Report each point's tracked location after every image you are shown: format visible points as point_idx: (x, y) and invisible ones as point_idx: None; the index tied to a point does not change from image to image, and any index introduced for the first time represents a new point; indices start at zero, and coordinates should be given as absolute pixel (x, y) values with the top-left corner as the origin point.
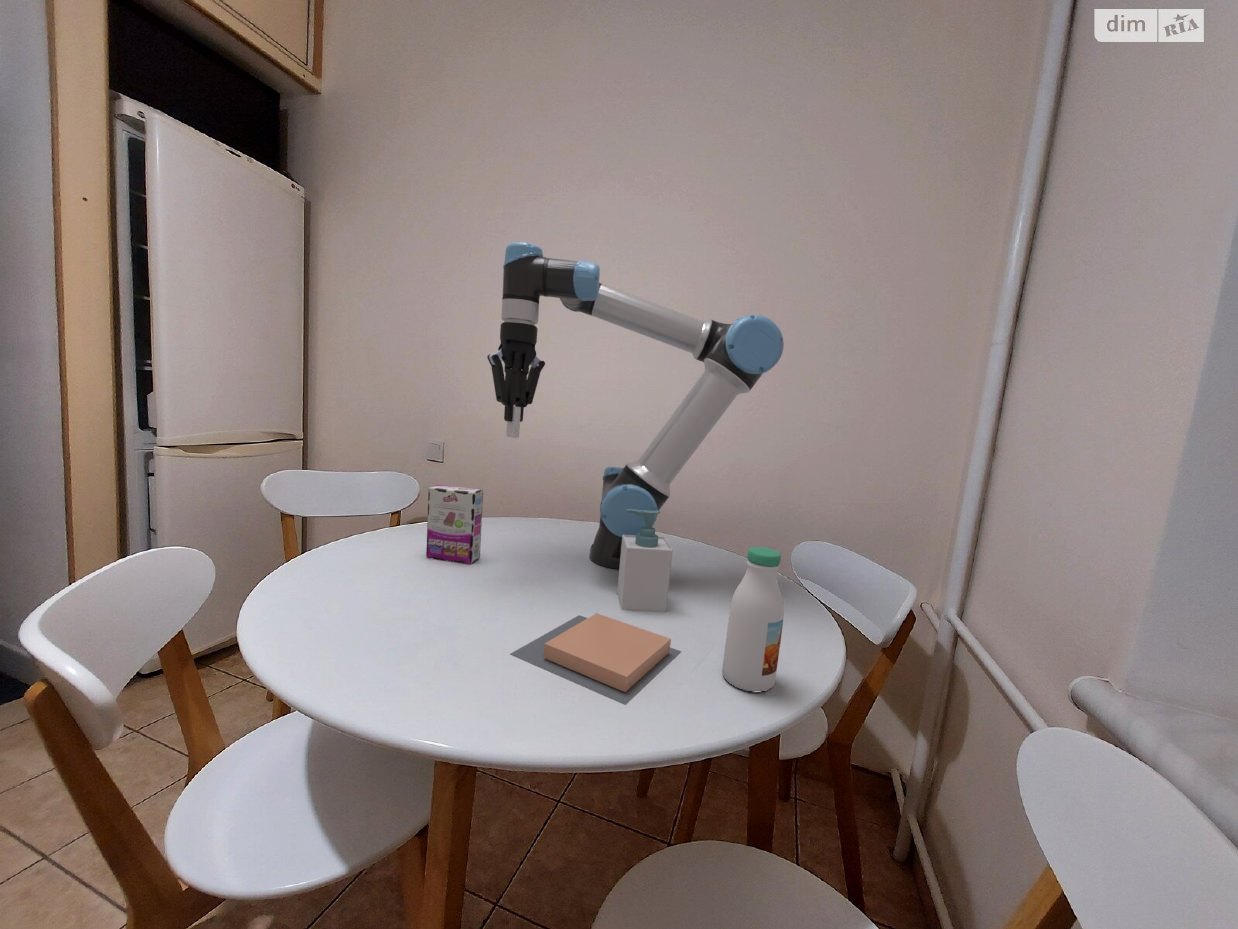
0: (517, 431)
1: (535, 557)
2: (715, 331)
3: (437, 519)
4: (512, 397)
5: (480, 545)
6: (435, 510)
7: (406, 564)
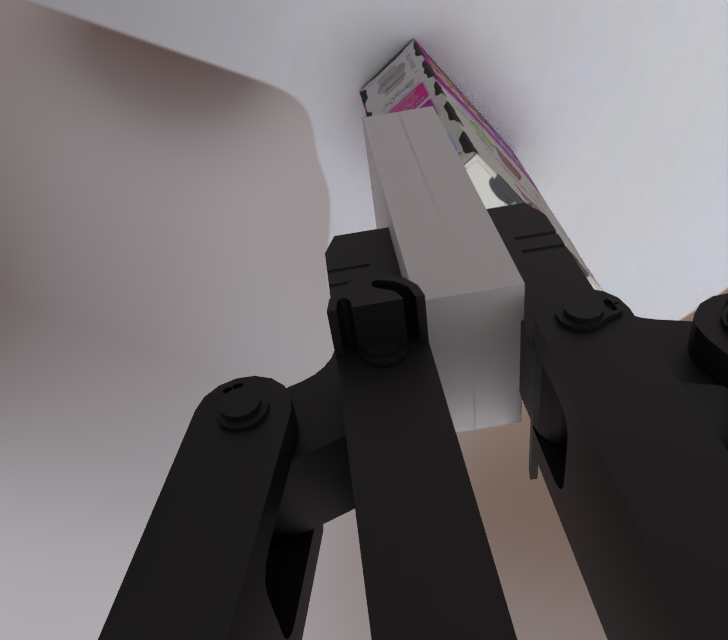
0: (395, 138)
1: (147, 33)
2: None
3: (537, 195)
4: (629, 376)
5: (365, 108)
6: (553, 219)
7: (589, 116)
